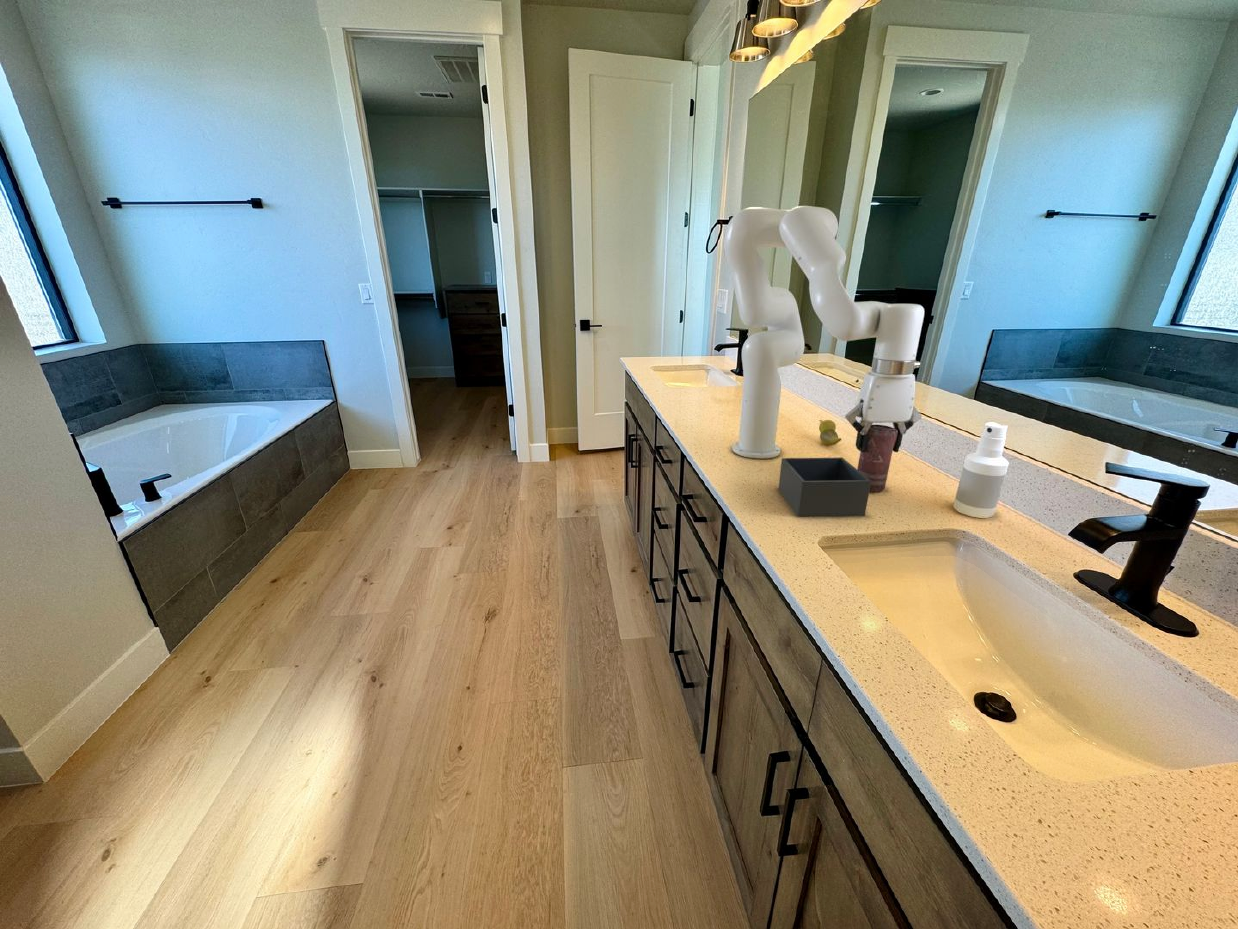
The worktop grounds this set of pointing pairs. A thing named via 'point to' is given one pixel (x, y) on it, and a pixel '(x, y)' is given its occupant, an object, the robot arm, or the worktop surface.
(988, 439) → the spray bottle
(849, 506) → the bin
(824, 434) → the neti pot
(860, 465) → the can
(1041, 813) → the worktop surface
